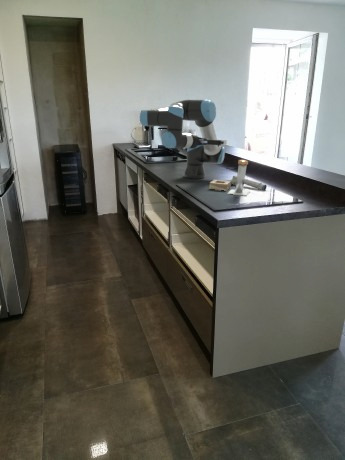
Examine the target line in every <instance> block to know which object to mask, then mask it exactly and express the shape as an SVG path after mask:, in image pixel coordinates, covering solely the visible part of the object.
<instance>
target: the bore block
mask: <svg viewBox="0 0 345 460" xmlns="http://www.w3.org/2000/svg"><path fill="white" fill-rule="evenodd" d="M231 186H232V184H231V180H222V179H212V181H210V182H209V190H210V189H215V190H214V191H221V190H224V191H225V192H227V191H228V190H230V189H231ZM224 191H223V192H224Z"/></svg>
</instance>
